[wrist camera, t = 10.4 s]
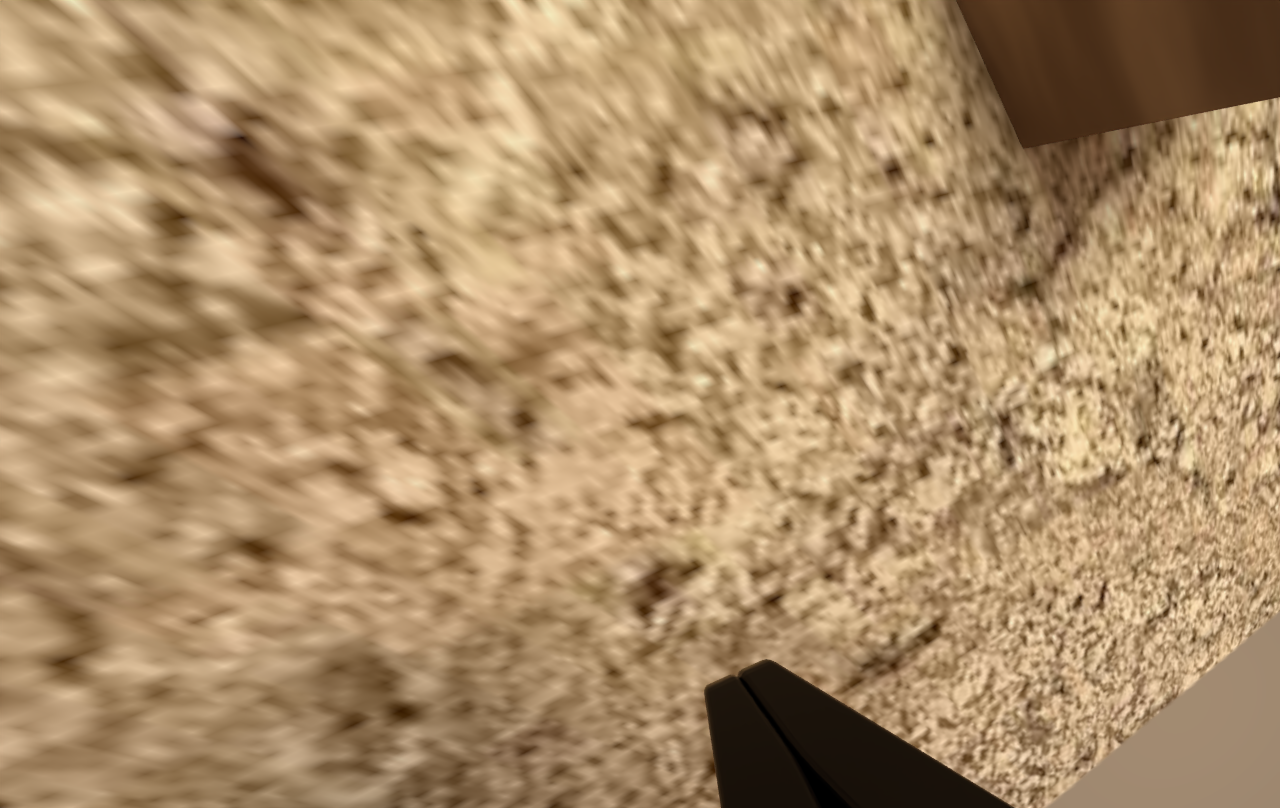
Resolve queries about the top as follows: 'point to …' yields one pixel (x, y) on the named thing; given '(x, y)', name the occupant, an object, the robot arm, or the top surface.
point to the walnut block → (1123, 60)
